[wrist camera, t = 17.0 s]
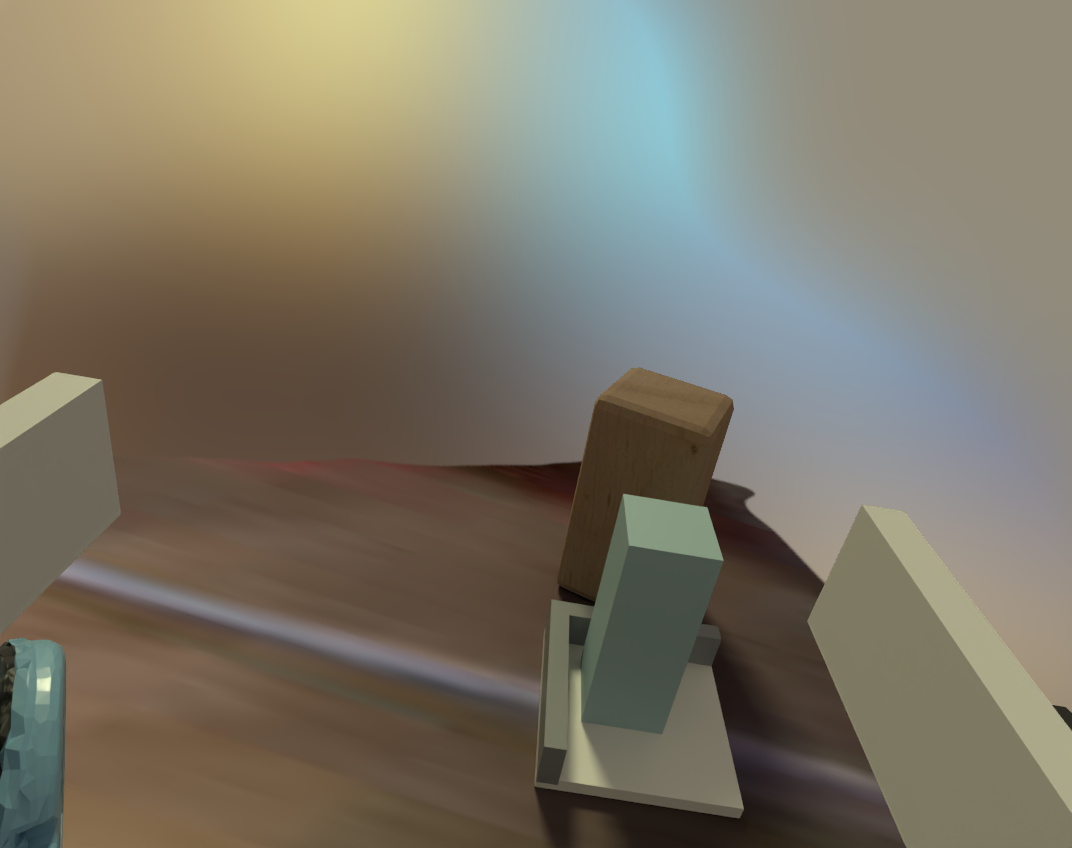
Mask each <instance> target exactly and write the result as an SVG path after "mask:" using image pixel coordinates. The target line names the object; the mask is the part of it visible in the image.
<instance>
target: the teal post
mask: <svg viewBox="0 0 1072 848" xmlns="http://www.w3.org/2000/svg"><path fill="white" fill-rule="evenodd" d="M722 563H723V558H722V554H721V551H720V548H719V545H718V541H717V538H716V535H715V532H714V528H713V525H712V522H711V519H710V515H709V512H708V509H707V507H701V506H695V505H689V504H683V503H677V502H670V501H664V500H658V499H652V498H646V497H640V496H634V495H628V494H623V496H622V500H621V504H620V508H619V512H618V516H617V520H616V524H615V527H614V531H613V535H612V539H611V543H610V547H609V551H608V555H607V559H606V563H605V567H604V570H603V574H602V578H601V582H600V586H599V590H598V594H597V598H596V602H595V606H594V609H593V613H592V617H591V621H590V625H589V629H588V633H587V637H586V641H585V645H584V649H583V652H582V656H581V722H586V723H593V724H599V725H605V726H612V727H618V728H625V729H631V730H637V731H644V732H650V733H657V734H662V733H663V731H664V728H665V725H666V722H667V719H668V716H669V714H670V711H671V708H672V705H673V702H674V699H675V697H676V694H677V691H678V688H679V685H680V682H681V680H682V677H683V674H684V671H685V668H686V665H687V663H688V660H689V657H690V654H691V651H692V648H693V646H694V643H695V640H696V637H697V634H698V631H699V629H700V626H701V623H702V620H703V617H704V614H705V612H706V609H707V606H708V603H709V600H710V597H711V595H712V592H713V589H714V586H715V583H716V580H717V578H718V575H719V572H720V569H721V566H722Z"/></svg>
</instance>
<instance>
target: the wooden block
mask: <svg viewBox="0 0 1072 848" xmlns="http://www.w3.org/2000/svg"><path fill="white" fill-rule="evenodd" d="M733 410H734V408H733V400H732V399H731V398H729V397H728V396H726V395H724V394H721V393H718V392H714V391H711V390H708V389H705V388H702V387H699V386H696V385H693V384H689V383H686V382H683V381H680V380H677V379H673V378H671V377H668V376H664V375H661V374H658V373H655V372H652V371H649V370H646V369H642V368H631V369H630V370H629V371H628V372H627V373H626V374H624V375H623V376H622V377H621V378H620V379H619V380H617V381H616V382H615V383H614V384H613V385H612V386H610V387H609V388H608V389H607V390H606V391H605V392H603V393H602V394H601V395H600V396H599V398H598V399H597V400H596V401H595V405H594V410H593V414H592V419H591V423H590V428H589V432H588V437H587V442H586V446H585V451H584V455H583V460H582V464H581V469H580V473H579V478H578V483H577V487H576V492H575V496H574V501H573V505H572V510H571V514H570V519H569V524H568V528H567V533H566V537H565V542H564V546H563V551H562V556H561V560H560V565H559V569H558V575H557V580H558V584H559V585H561V586H562V587H563V588H565V589H567V590H569V591H571V592H574V593H576V594H578V595H580V596H583V597H585V598H587V599H589V600H591V601H594V602H596V598H597V594H598V590H599V586H600V582H601V578H602V574H603V570H604V567H605V563H606V559H607V555H608V551H609V547H610V543H611V539H612V535H613V531H614V527H615V524H616V520H617V516H618V512H619V508H620V504H621V500H622V496H623V494H628V495H634V496H640V497H646V498H652V499H658V500H664V501H670V502H677V503H683V504H689V505H695V506H701V507H702V506H703V503H704V500H705V497H706V494H707V491H708V488H709V484H710V481H711V478H712V475H713V472H714V469H715V466H716V462H717V460H718V456H719V453H720V450H721V447H722V444H723V441H724V438H725V435H726V432H727V428H728V425H729V422H730V419H731V416H732V413H733Z"/></svg>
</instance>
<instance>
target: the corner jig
mask: <svg viewBox="0 0 1072 848" xmlns="http://www.w3.org/2000/svg"><path fill="white" fill-rule="evenodd" d="M593 609H594V606H588V605H582V604H576V603H570V602H564V601H558V600H551V605H550V609H549V614H548V618H547V623H546V627H545V632H544V639H543V655H542V671H541V688H540V704H539V720H538V736H537V752H536V768H535V784H534V787H540V788H547V789H553V790H560V791H566V792H573V793H579V794H585V795H592V796H598V797H605V798H611V799H618V800H624V801H630V802H637V803H643V804H650V805H656V806H663V807H669V808H675V809H682V810H688V811H695V812H701V813H708V814H714V815H720V816H727V817H733V818H740V817H741V814H742V812H743V810H744V807H743V803H742V798H741V794H740V789H739V785H738V781H737V776H736V772H735V768H734V763H733V759H732V754H731V750H730V746H729V741H728V737H727V733H726V728H725V724H724V719H723V715H722V711H721V706H720V702H719V697H718V693H717V689H716V684H715V680H714V676H713V671H712V667H711V666H712V663H713V661H714V658H715V655H716V653H717V650H718V647H719V645H720V642H721V636H720V632H719V628H718V626H712V625H706V624H701V626H700V629H699V631H698V634H697V637H696V640H695V643H694V646H693V648H692V651H691V654H690V657H689V660H688V663H687V665H686V668H685V671H684V674H683V677H682V680H681V682H680V685H679V688H678V691H677V694H676V697H675V699H674V702H673V705H672V708H671V711H670V714H669V716H668V719H667V722H666V725H665V728H664V731H663V733H662V734H657V733H650V732H644V731H637V730H631V729H625V728H618V727H612V726H605V725H599V724H593V723H586V722H581V656H582V652H583V649H584V645H585V641H586V637H587V633H588V629H589V625H590V621H591V617H592V613H593Z"/></svg>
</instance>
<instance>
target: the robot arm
mask: <svg viewBox="0 0 1072 848" xmlns="http://www.w3.org/2000/svg"><path fill="white" fill-rule="evenodd" d="M120 514H121V512H120V505H119V498H118V490H117V483H116V476H115V469H114V462H113V455H112V448H111V440H110V434H109V426H108V420H107V412H106V405H105V398H104V391H103V383H102V380H100V379H94V378H88V377H82V376H76V375H70V374H63V373H57V372H55V373H53V374H51V375H50V376H48V377H46V378H45V379H43V380H41V381H40V382H38V383H36V384H35V385H33V386H31V387H30V388H28V389H26V390H25V391H23V392H21V393H20V394H18V395H16V396H15V397H13V398H11V399H9V400H8V401H6V402H4V403H3V404H1V405H0V635H1V634H2V633H3V632H4V631H5V630H6V629H7V628H8V627H9V626H10V625H11V624H12V623H13V622H14V621H15V620H16V619H17V618H18V617H19V616H20V615H21V614H22V613H23V612H24V611H25V610H26V609H27V608H28V607H29V606H30V605H31V604H32V603H33V602H34V601H35V600H36V599H37V598H38V597H39V596H40V595H41V594H42V593H43V592H44V591H45V590H46V589H47V588H48V587H49V586H50V585H51V584H52V583H53V582H54V581H55V580H56V579H57V578H58V577H59V576H60V575H61V574H62V573H63V572H64V571H65V570H66V569H67V568H68V567H69V566H70V565H71V564H72V563H73V562H74V561H75V560H76V559H77V558H78V557H79V556H80V555H81V554H82V553H83V552H84V551H85V550H86V549H87V548H88V547H89V546H90V545H91V544H92V542H93V541H94V540H95V539H96V538H97V537H98V536H99V535H100V534H101V533H102V532H103V531H104V530H105V529H106V528H107V527H108V526H109V525H110V524H111V523H112V522H113V521H114V520H115V519H116V518H117V517H118V516H119V515H120ZM807 622H808V624H809V626H810V628H811V631H812V633H813V635H814V638H815V640H816V642H817V644H818V647H819V649H820V651H821V654H822V656H823V658H824V660H825V663H826V665H827V667H828V670H829V672H830V674H831V677H832V679H833V681H834V683H835V686H836V688H837V690H838V693H839V695H840V697H841V699H842V702H843V704H844V706H845V709H846V711H847V713H848V715H849V718H850V720H851V722H852V725H853V727H854V729H855V731H856V734H857V736H858V738H859V741H860V743H861V745H862V747H863V750H864V752H865V754H866V757H867V759H868V761H869V763H870V766H871V768H872V770H873V773H874V775H875V777H876V779H877V782H878V784H879V786H880V789H881V791H882V793H883V796H884V798H885V800H886V802H887V805H888V807H889V809H890V812H891V814H892V816H893V818H894V821H895V823H896V825H897V828H898V830H899V832H900V834H901V837H902V839H903V841H904V844H905V846H906V848H1072V713H1071V712H1070V711H1069V710H1068V709H1067V708H1065V707H1061V706H1055V705H1051V703H1050V702H1049V701H1048V699H1047V698H1046V697H1045V695H1044V694H1043V693H1042V691H1041V690H1040V689H1039V687H1038V686H1037V685H1036V684H1035V682H1034V681H1033V680H1032V678H1031V677H1030V676H1029V674H1028V673H1027V672H1026V671H1025V669H1024V668H1023V666H1022V665H1021V664H1020V663H1019V661H1018V660H1017V659H1016V657H1015V656H1014V655H1013V653H1012V652H1011V651H1010V649H1009V648H1008V647H1007V646H1006V644H1005V643H1004V642H1003V640H1002V639H1001V638H1000V636H999V635H998V634H997V633H996V631H995V630H994V629H993V627H992V626H991V625H990V623H989V622H988V621H987V619H986V618H985V617H984V615H983V614H982V613H981V612H980V610H979V609H978V608H977V606H976V605H975V604H974V602H973V601H972V600H971V598H970V597H969V596H968V595H967V593H966V592H965V591H964V590H963V588H962V587H961V585H960V584H959V583H958V581H957V580H956V579H955V578H954V576H953V575H952V574H951V572H950V571H949V570H948V568H947V567H946V566H945V564H944V563H943V562H942V560H941V559H940V558H939V557H938V555H937V554H936V553H935V551H934V550H933V549H932V547H931V546H930V545H929V543H928V542H927V541H926V539H925V538H924V537H923V535H922V534H921V533H920V532H919V530H918V529H917V528H916V526H915V525H914V524H913V522H912V521H911V520H910V519H909V517H908V516H907V515H906V513H905V512H904V511H898V510H892V509H886V508H880V507H874V506H868V505H862V506H861V508H860V510H859V512H858V514H857V516H856V518H855V521H854V523H853V525H852V527H851V529H850V531H849V534H848V536H847V538H846V540H845V542H844V544H843V546H842V548H841V550H840V553H839V555H838V557H837V559H836V562H835V563H834V566H833V568H832V570H831V572H830V574H829V576H828V579H827V580H826V583H825V585H824V587H823V589H822V591H821V593H820V595H819V597H818V600H817V602H816V604H815V606H814V608H813V610H812V612H811V615H810V617H809V619H808V621H807ZM65 719H66V659H65V654H64V652H63V648H62V646H61V645H59V644H57V643H55V642H53V641H50V640H34V641H29V640H27V639H24V638H18V639H11V640H8V641H6V642H4V643H3V644H2V645H1V646H0V848H62V838H63V806H64V770H65Z"/></svg>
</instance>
